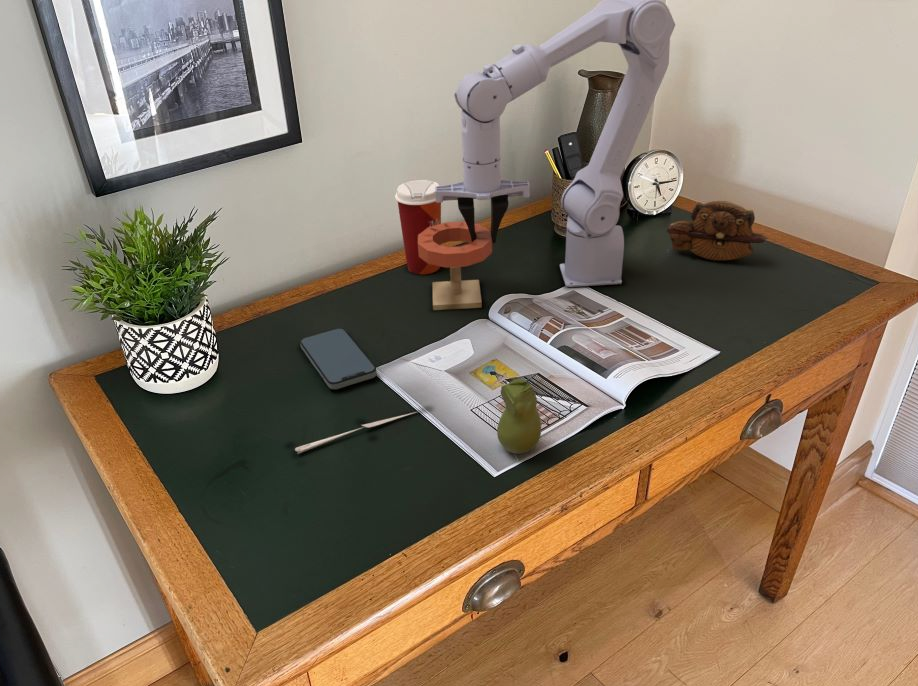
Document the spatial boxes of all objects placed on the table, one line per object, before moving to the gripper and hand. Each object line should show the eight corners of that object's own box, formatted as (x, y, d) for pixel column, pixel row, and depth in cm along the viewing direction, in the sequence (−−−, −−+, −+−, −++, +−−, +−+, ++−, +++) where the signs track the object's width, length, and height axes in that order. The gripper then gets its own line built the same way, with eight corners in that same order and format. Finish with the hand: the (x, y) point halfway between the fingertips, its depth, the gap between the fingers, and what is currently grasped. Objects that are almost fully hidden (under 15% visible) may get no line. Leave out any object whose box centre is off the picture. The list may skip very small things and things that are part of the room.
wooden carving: (662, 258, 139) (669, 205, 134) (666, 247, 143) (672, 195, 137) (761, 269, 134) (772, 214, 128) (762, 258, 137) (773, 204, 132)
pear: (547, 455, 98) (549, 390, 92) (509, 467, 97) (509, 402, 91) (527, 429, 102) (528, 366, 97) (490, 440, 101) (488, 377, 95)
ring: (489, 233, 132) (489, 219, 131) (493, 265, 122) (493, 251, 121) (419, 237, 132) (418, 223, 131) (418, 269, 123) (417, 255, 121)
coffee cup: (446, 276, 139) (442, 195, 130) (400, 278, 139) (392, 197, 130) (446, 255, 145) (442, 177, 137) (402, 257, 146) (395, 179, 137)
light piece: (434, 410, 105) (299, 456, 99) (434, 416, 106) (300, 462, 99) (421, 395, 108) (289, 439, 102) (421, 401, 109) (290, 445, 102)
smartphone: (343, 326, 124) (378, 369, 113) (344, 335, 125) (380, 379, 114) (297, 339, 122) (329, 384, 110) (299, 348, 123) (330, 394, 111)
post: (479, 284, 135) (478, 252, 132) (481, 307, 129) (481, 275, 125) (432, 287, 136) (430, 255, 132) (433, 310, 129) (431, 277, 126)
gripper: (433, 170, 115) (438, 254, 123) (532, 164, 115) (531, 249, 123) (433, 154, 121) (438, 235, 129) (527, 148, 121) (526, 230, 129)
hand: (483, 240), depth 126 cm, fingers closed on ring, 2 cm apart
